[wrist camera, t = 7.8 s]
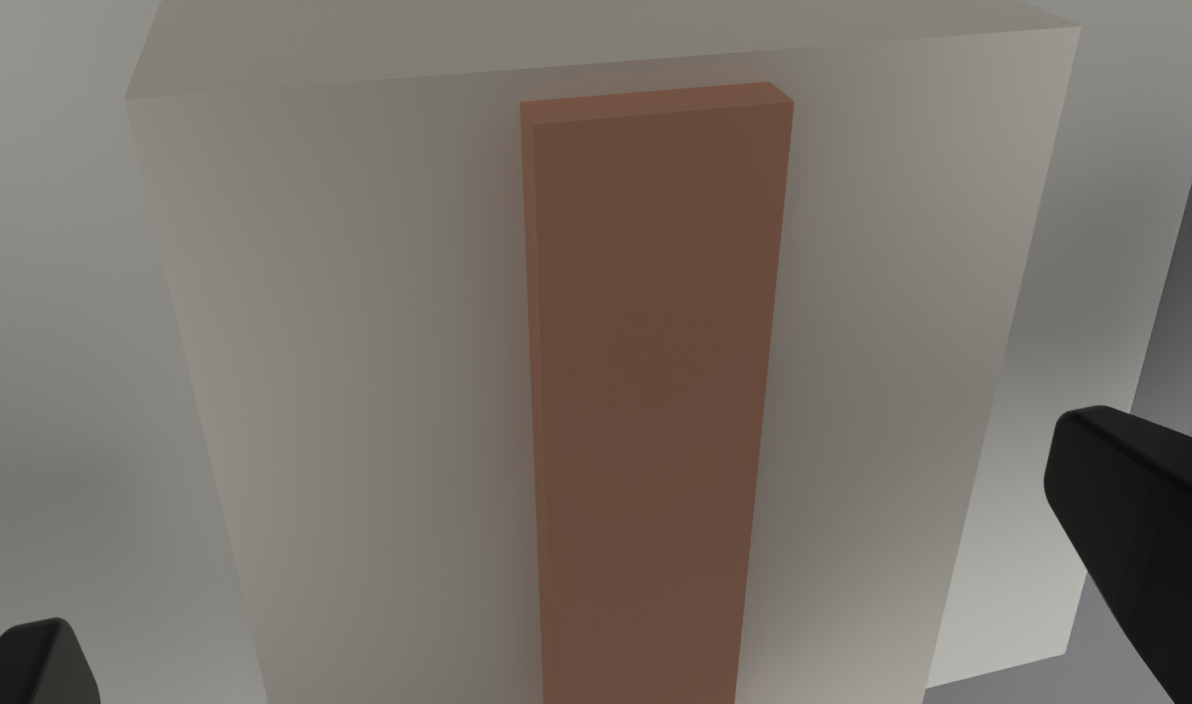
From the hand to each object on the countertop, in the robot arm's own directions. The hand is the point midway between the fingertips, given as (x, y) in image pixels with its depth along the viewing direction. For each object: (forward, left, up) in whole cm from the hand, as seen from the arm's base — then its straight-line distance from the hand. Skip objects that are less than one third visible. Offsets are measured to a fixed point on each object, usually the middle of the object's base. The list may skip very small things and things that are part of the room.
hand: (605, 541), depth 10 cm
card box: (0, 0, -3) cm, 3 cm away
